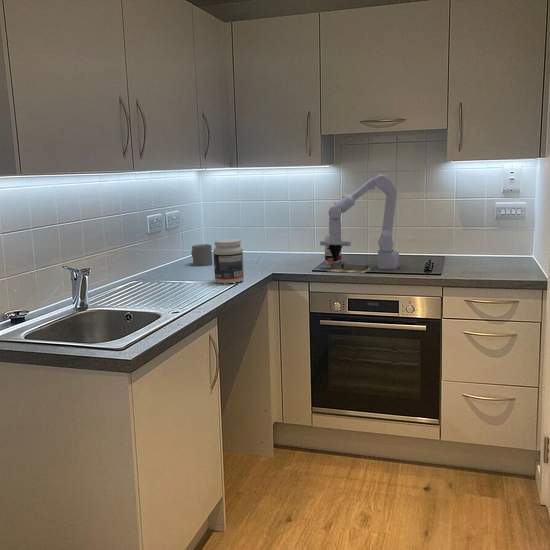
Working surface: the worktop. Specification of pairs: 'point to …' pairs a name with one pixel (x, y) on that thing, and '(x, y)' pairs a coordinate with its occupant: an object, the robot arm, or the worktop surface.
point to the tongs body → (342, 266)
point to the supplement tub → (228, 261)
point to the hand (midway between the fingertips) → (335, 261)
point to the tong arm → (354, 266)
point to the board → (349, 270)
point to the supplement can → (328, 253)
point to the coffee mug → (202, 255)
